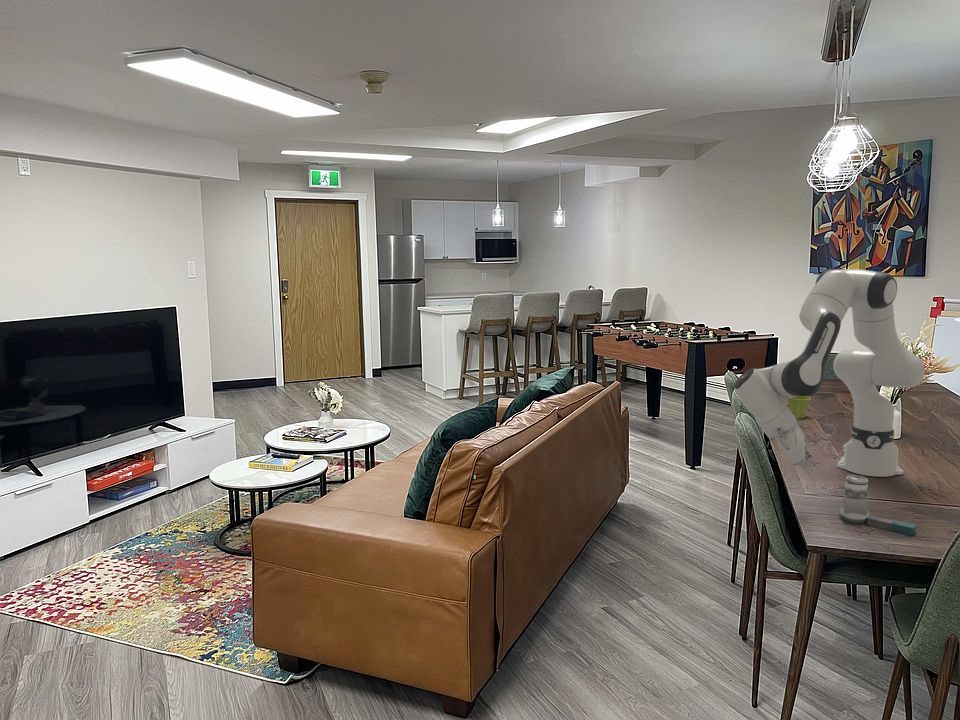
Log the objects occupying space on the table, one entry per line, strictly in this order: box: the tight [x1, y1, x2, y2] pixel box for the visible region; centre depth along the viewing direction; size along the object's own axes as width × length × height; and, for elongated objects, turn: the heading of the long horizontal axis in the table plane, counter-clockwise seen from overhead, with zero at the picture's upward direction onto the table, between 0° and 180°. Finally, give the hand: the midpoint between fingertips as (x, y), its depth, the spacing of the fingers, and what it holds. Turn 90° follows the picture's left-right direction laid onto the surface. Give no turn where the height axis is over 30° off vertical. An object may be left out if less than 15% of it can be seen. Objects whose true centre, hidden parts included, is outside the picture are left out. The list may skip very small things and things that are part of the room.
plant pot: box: [787, 396, 812, 420], centre depth 302 cm, size 9×9×9 cm
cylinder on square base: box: [842, 474, 869, 515], centre depth 188 cm, size 5×5×9 cm
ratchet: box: [838, 506, 917, 537], centre depth 185 cm, size 18×7×6 cm, turn 46°
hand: (809, 464), depth 193 cm, fingers open, 8 cm apart
